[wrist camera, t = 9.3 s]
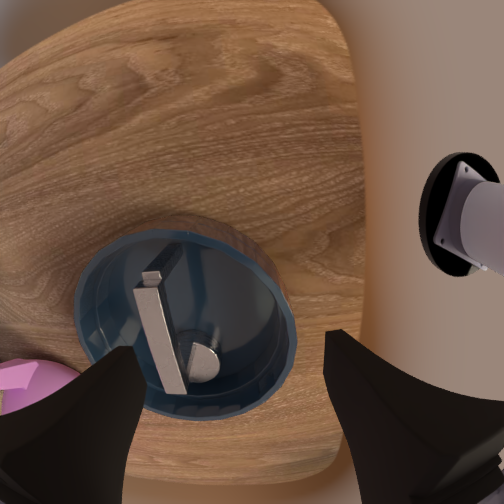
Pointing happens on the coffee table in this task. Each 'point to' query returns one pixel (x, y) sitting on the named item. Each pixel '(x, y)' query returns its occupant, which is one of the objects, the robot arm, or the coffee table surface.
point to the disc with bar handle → (173, 330)
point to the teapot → (31, 381)
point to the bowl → (194, 313)
